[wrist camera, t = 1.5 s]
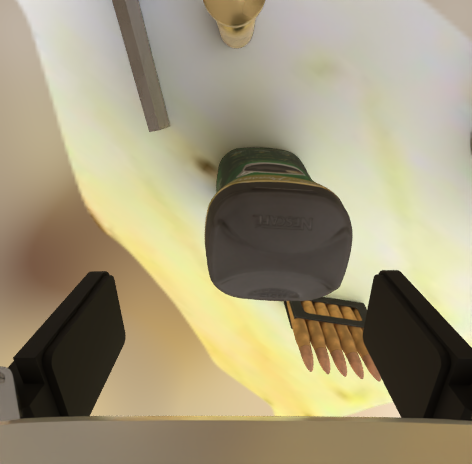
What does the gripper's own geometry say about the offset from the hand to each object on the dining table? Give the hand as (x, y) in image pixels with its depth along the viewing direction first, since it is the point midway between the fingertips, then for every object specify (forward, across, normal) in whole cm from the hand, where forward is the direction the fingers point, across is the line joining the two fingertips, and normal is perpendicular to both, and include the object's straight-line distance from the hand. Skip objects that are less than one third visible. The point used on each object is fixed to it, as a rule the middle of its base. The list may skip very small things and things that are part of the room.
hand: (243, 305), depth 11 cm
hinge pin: (+25, 0, -13) cm, 28 cm away
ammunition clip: (+25, -11, +18) cm, 33 cm away
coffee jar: (+25, -2, +2) cm, 25 cm away
